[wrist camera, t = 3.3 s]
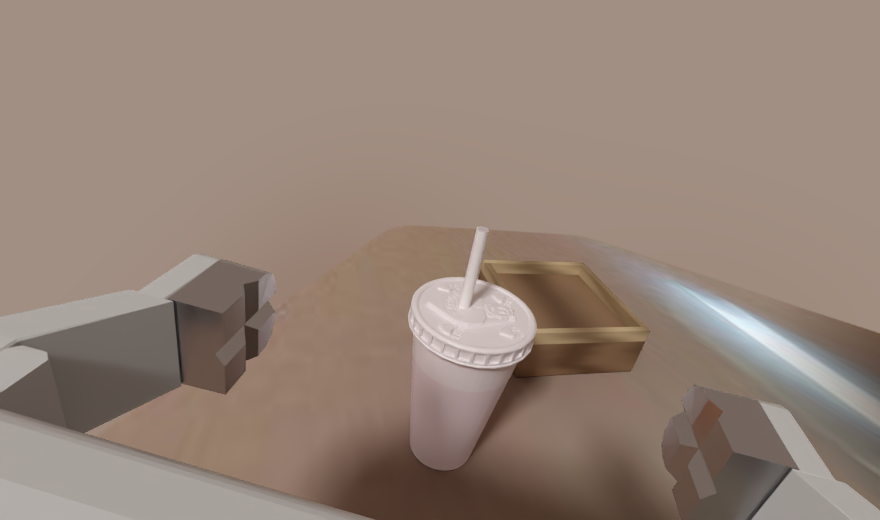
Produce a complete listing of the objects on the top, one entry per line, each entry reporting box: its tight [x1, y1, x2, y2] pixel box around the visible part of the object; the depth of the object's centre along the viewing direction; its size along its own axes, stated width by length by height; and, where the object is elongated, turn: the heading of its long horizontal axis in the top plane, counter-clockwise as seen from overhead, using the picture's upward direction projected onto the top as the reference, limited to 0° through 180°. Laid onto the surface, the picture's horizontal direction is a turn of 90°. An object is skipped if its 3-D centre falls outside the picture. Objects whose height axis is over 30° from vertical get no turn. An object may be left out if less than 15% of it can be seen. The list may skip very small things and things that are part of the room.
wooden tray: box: [478, 260, 650, 377], centre depth 39 cm, size 10×10×4 cm
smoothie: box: [408, 227, 537, 471], centre depth 25 cm, size 6×6×14 cm
